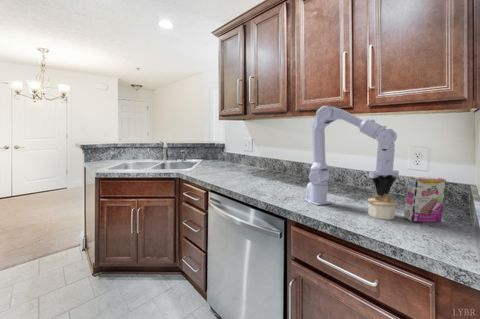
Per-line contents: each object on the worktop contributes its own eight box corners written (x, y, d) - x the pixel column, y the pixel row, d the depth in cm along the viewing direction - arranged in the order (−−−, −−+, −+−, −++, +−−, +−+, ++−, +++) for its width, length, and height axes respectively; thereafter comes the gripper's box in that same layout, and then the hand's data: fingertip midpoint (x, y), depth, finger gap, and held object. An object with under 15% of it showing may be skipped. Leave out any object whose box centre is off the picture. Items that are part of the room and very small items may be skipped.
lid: (361, 201, 102) (362, 192, 102) (379, 198, 106) (379, 190, 106) (385, 207, 93) (386, 198, 92) (404, 204, 97) (404, 195, 97)
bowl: (363, 213, 103) (364, 201, 102) (378, 210, 106) (379, 199, 106) (383, 220, 94) (384, 207, 94) (399, 217, 98) (400, 205, 98)
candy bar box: (412, 223, 92) (416, 179, 91) (403, 218, 97) (407, 176, 96) (442, 222, 93) (446, 179, 91) (431, 218, 98) (435, 176, 96)
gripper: (381, 162, 91) (379, 199, 93) (407, 160, 97) (404, 195, 99) (365, 160, 98) (362, 194, 99) (390, 158, 103) (387, 191, 105)
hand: (382, 194), depth 99 cm, fingers closed on lid, 2 cm apart
